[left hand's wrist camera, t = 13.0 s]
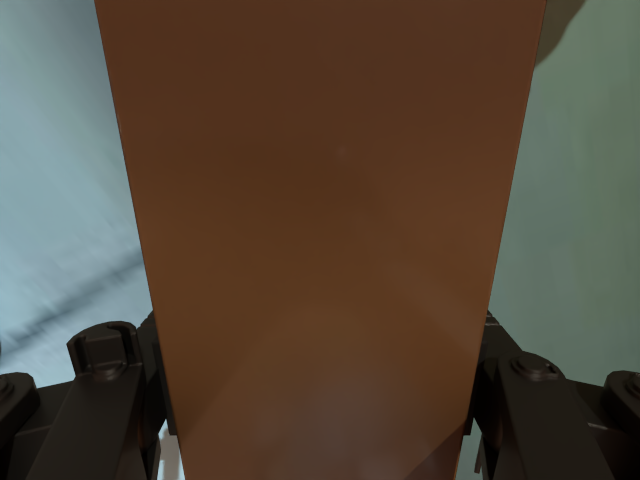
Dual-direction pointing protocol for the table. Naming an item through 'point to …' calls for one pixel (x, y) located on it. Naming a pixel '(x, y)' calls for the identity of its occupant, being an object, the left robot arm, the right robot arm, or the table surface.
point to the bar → (320, 219)
